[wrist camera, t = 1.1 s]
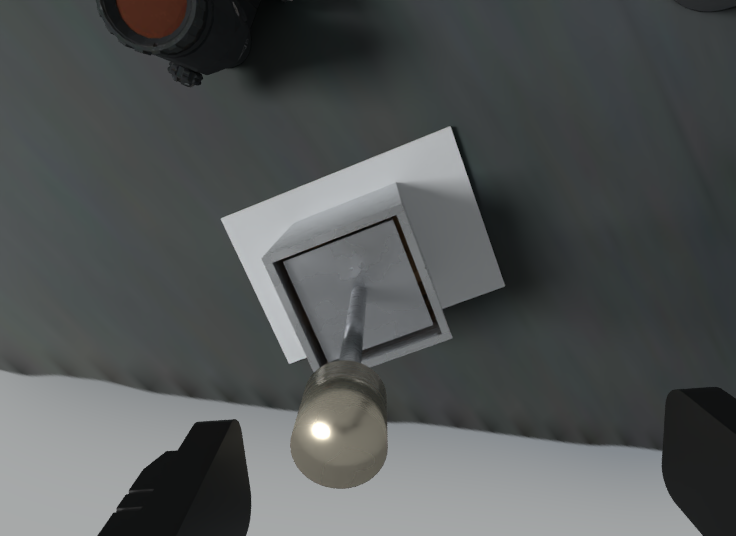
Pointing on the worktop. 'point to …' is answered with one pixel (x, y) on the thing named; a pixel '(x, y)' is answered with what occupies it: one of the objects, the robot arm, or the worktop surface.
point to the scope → (184, 32)
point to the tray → (424, 207)
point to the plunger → (351, 349)
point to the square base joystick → (336, 226)
